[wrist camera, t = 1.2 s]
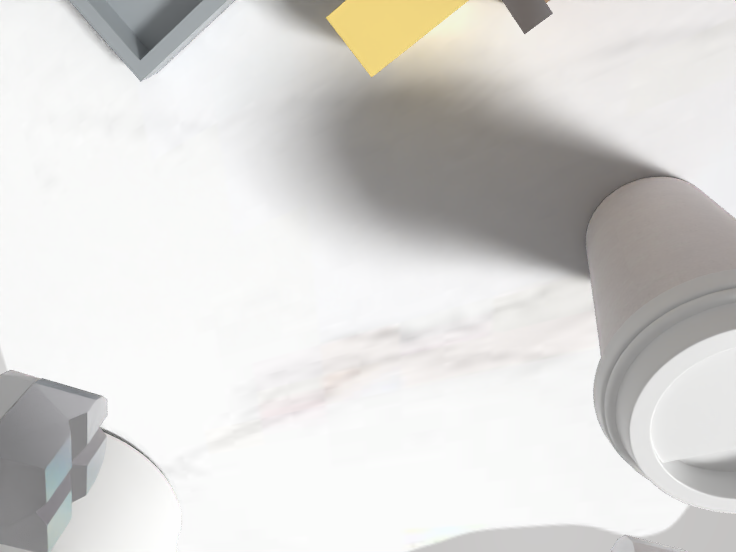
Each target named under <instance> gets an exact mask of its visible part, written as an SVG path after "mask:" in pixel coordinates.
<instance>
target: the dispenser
mask: <svg viewBox="0 0 736 552" xmlns="http://www.w3.org/2000/svg"><path fill="white" fill-rule="evenodd" d="M502 1H503V2H504V4H505V5H506V7H507V8H508V10H509V11H510V13H511V14H512V16H513V17H514V19H515V20H516V22H517V23H518V25H519V27H520V28H521V30H522V31H523V33H524V34H526V33H527V32H528V31H530V30H531V29H532V28H534V27H535V26H536V25H538V24H539V23H540V22H542V21H543V20H545V19H546V18H547V17H549V16H550V15H551V14H553V13H552V11H551V10H550V8H549V7H548V5H547V4H546V3H547V2H548V1H549V0H502Z"/></svg>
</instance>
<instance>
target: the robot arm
mask: <svg viewBox="0 0 736 552" xmlns="http://www.w3.org/2000/svg"><path fill="white" fill-rule="evenodd" d="M106 417H107V399H106V398H105V397H103V396H101V395H97V394H94V393H91V392H87V391H84V390H80V389H77V388H74V387H70V386H67V385H63V384H60V383H57V382H53V381H50V380H46V379H43V378H42V379H41V378H37V377H34V376H31V375H27V374H24V373H20V372H17V371H14V370H9V371H7V372H5V373H3V374H1V375H0V552H178V551H177V542H178V538H179V534H180V531H181V524H182V516H181V509H180V505H179V502H178V499H177V497H176V494H175V492H174V490H173V488H172V487H171V485H170V483H169V482H168V480H167V479H166V478H165V476H164V475H163V474H162V473H161V471H160V470H159V469H158V468H157V467H156V466H155V465H154V464H153V463H152V462H151V461H150V460H149V459H147V458H146V457H145V456H144V455H143V454H141V453H140V452H139V451H137V450H136V449H134V448H133V447H131V446H130V445H128V444H126V443H125V442H123V441H121V440H119V439H117V438H115V437H113V436H111V435H109V434H107V433H104V432H103V430H102V429H101V427H100V425H101V424H102V423H103V421H104V420H105V418H106ZM611 552H687V551H686V550H682V549H678V548H674V547H671V546H667V545H663V544H659V543H655V542H651V541H647V540H643V539H639V538H636V537H632V536H628V535H624V536H622V537H620V538H619V539H617V541H616V543H615V544H614V546H613V547H612V549H611Z"/></svg>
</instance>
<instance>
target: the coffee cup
mask: <svg viewBox="0 0 736 552" xmlns="http://www.w3.org/2000/svg"><path fill="white" fill-rule="evenodd" d="M586 251H587V258H588V265H589V272H590V279H591V287H592V294H593V301H594V308H595V316H596V323H597V330H598V338H599V346H600V353H601V359H600V361H599V364H598V367H597V370H596V374H595V379H594V388H593V398H594V407H595V412H596V415H597V418H598V421H599V424H600V426H601V428H602V430H603V432H604V434H605V436H606V437H607V439H608V440H609V442H610V443H611V444H612V446H613V447H614V449H615V450H616V451H617V452H618V454H619V455H620V456H621V457H622V458H623V459H624V460H625V461H626V462H627V463H628V464H629V465H630V466H631V467H632V468H634V469H635V470H636V471H637V472H638V473H639V474H641V475H642V476H644V477H645V478H646V479H648V480H650V481H651V482H652V483H653V484H654V485H655V486H656V487H658V488H659V489H660V490H662V491H663V492H665V493H666V494H668V495H669V496H671V497H673V498H675V499H677V500H679V501H681V502H683V503H686V504H688V505H691V506H695V507H697V508H702V509H705V510H710V511H716V512H723V513H736V219H735V218H734V217H733V216H731V215H730V214H729V213H728V212H727V211H725V210H724V209H723V208H722V207H721V206H719V205H718V204H717V203H716V202H715V201H713V200H712V199H711V198H710V197H709V196H707V195H706V194H705V193H704V192H703V191H701V190H700V189H699V188H697V187H696V186H694V185H692V184H690V183H688V182H686V181H683V180H680V179H677V178H672V177H649V178H643V179H639V180H636V181H633V182H630V183H628V184H626V185H624V186H622V187H620V188H618V189H617V190H615V191H614V192H612V193H611V194H610V195H609V196H608V197H606V198H605V199H604V200H603V201H602V202H601V204H600V205H599V206H598V207H597V209H596V210H595V212H594V213H593V215H592V217H591V219H590V222H589V224H588V228H587V232H586Z"/></svg>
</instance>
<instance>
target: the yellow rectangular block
mask: <svg viewBox="0 0 736 552" xmlns="http://www.w3.org/2000/svg"><path fill="white" fill-rule="evenodd" d="M467 1H468V0H346V1H345V2H343V3H342V4H341V5H340V6H339V7H338V8H337V9H335V10H334V11H333V12H332V13H331V14H330V15H328V16H327V17H326V19H327V20H328V21H329V23H330V24H331V25H332V27H333V28H334V29H335V30H336V32H337V33H338V34H339V36H340V37H341V38H342V40H343V41H344V42H345V43H346V45H347V46H348V47H349V49H350V50H351V51H352V53H353V54H354V55H355V57H356V58H357V59H358V60H359V62H360V63H361V64H362V66H363V67H364V68H365V70H366V71H367V72H368V74H369V75H370V76H371V77H373V76H374V75H375V74H377V73H378V72H379V71H380V70H382V69H383V68H384V67H385V66H387V65H388V64H389V63H390V62H392V61H393V60H394V59H396V58H397V57H398V56H399V55H401V54H402V53H403V52H404V51H406V50H407V49H408V48H409V47H411V46H412V45H413V44H414V43H416V42H417V41H418V40H419V39H421V38H422V37H423V36H424V35H426V34H427V33H428V32H429V31H431V30H432V29H433V28H434V27H436V26H437V25H438V24H440V23H441V22H442V21H443V20H445V19H446V18H447V17H448V16H450V15H451V14H452V13H453V12H455V11H456V10H457V9H458V8H460V7H461V6H462V5H463V4H465V3H466V2H467Z"/></svg>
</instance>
